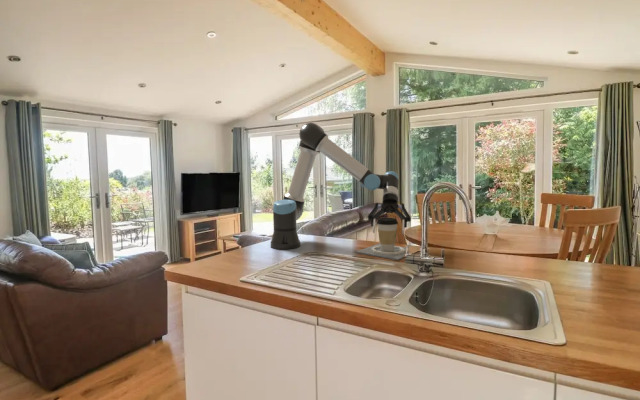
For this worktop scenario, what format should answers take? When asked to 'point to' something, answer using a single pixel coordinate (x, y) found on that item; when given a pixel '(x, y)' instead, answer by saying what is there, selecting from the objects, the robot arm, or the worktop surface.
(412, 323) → the worktop surface
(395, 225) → the coffee cup
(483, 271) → the worktop surface
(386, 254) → the slate board
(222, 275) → the worktop surface
